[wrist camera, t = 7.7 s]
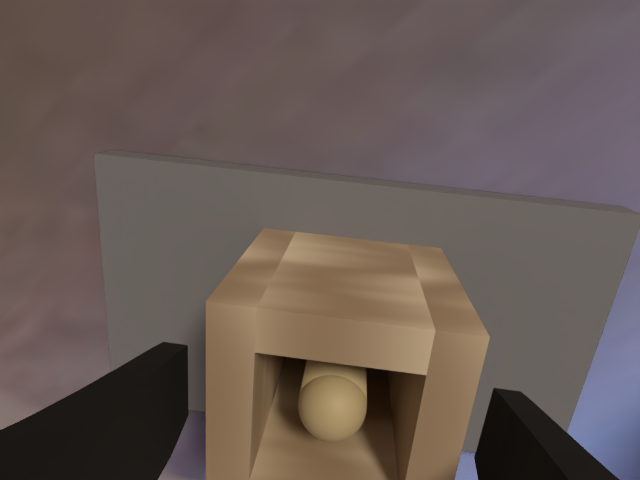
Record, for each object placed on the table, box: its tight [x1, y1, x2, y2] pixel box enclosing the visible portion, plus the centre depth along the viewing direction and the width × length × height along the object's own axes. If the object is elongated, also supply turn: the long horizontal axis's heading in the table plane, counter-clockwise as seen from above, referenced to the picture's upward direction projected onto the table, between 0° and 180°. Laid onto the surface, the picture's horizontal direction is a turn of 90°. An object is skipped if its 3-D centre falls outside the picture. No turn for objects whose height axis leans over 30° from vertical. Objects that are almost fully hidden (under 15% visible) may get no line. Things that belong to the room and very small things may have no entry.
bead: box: [206, 228, 490, 480], centre depth 11 cm, size 5×5×5 cm
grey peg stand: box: [94, 150, 640, 452], centre depth 12 cm, size 16×9×6 cm, turn 85°
